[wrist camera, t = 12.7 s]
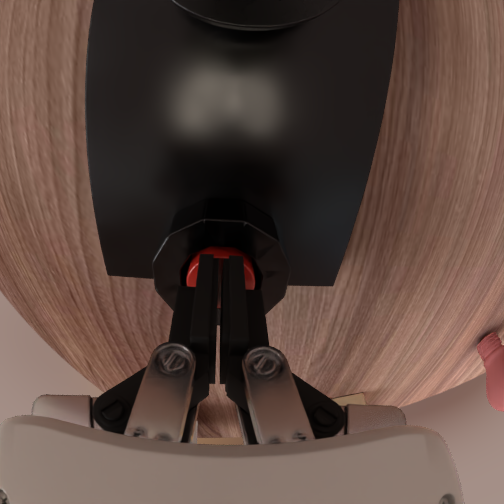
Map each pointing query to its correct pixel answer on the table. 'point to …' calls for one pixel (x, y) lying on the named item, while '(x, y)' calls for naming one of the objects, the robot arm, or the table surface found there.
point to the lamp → (255, 12)
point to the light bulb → (493, 369)
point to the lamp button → (221, 267)
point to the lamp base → (232, 138)
